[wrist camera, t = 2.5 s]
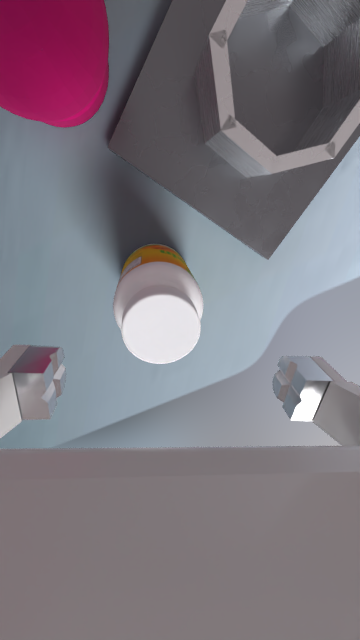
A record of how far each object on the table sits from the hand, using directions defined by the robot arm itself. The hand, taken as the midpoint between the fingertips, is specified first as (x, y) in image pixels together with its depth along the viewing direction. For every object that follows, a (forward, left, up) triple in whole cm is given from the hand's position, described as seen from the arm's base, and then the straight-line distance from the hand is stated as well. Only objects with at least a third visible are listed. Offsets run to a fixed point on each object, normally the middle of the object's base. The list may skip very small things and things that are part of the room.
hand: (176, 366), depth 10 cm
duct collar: (+14, 0, -13) cm, 19 cm away
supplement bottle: (0, 0, -13) cm, 13 cm away
